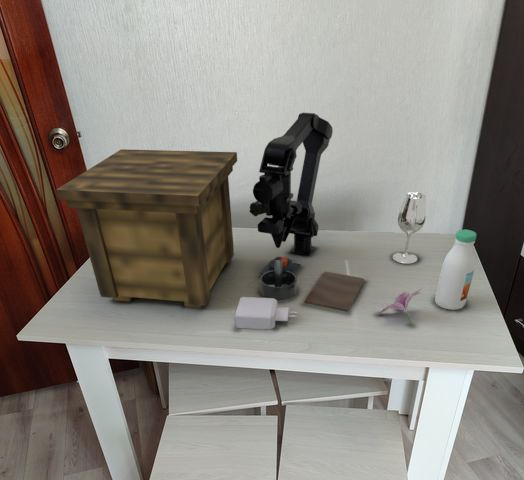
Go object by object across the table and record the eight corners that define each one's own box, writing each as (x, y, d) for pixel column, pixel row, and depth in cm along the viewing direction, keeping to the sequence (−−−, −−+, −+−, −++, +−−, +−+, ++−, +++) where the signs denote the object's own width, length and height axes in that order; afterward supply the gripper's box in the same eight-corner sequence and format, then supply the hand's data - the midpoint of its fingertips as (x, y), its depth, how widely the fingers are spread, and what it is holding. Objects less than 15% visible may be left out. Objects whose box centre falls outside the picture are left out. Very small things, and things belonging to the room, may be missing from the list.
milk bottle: (449, 313, 122) (467, 241, 110) (428, 300, 127) (443, 230, 115) (471, 305, 125) (491, 234, 112) (449, 292, 130) (466, 223, 118)
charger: (295, 332, 117) (236, 329, 119) (297, 312, 125) (242, 310, 126) (295, 317, 114) (235, 314, 116) (298, 297, 122) (241, 295, 124)
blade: (267, 284, 136) (266, 253, 130) (290, 284, 135) (290, 253, 129) (266, 296, 131) (265, 264, 125) (289, 296, 130) (290, 264, 124)
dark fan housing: (269, 281, 139) (269, 267, 136) (301, 287, 135) (302, 273, 132) (254, 297, 131) (254, 283, 129) (288, 304, 128) (288, 290, 125)
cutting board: (324, 274, 141) (325, 271, 140) (364, 282, 136) (364, 278, 136) (304, 304, 128) (304, 300, 127) (346, 313, 124) (347, 309, 123)
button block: (273, 262, 148) (273, 253, 146) (300, 267, 145) (300, 258, 143) (260, 276, 141) (260, 267, 139) (288, 282, 138) (288, 273, 136)
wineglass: (390, 262, 146) (399, 198, 134) (394, 251, 151) (403, 189, 139) (416, 265, 143) (427, 201, 131) (419, 255, 149) (431, 192, 137)
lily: (424, 312, 125) (413, 278, 122) (438, 320, 113) (427, 283, 111) (380, 327, 126) (369, 294, 124) (390, 337, 115) (378, 301, 113)
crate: (212, 318, 124) (198, 195, 104) (91, 307, 130) (56, 189, 110) (243, 258, 151) (236, 152, 131) (141, 252, 157) (120, 149, 137)
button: (277, 260, 143) (277, 255, 142) (289, 262, 142) (289, 257, 141) (272, 266, 141) (272, 260, 140) (284, 268, 139) (284, 263, 138)
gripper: (267, 178, 137) (268, 228, 147) (238, 199, 124) (242, 253, 134) (302, 182, 134) (301, 233, 143) (277, 204, 120) (278, 259, 130)
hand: (280, 244), depth 137 cm, fingers open, 4 cm apart
